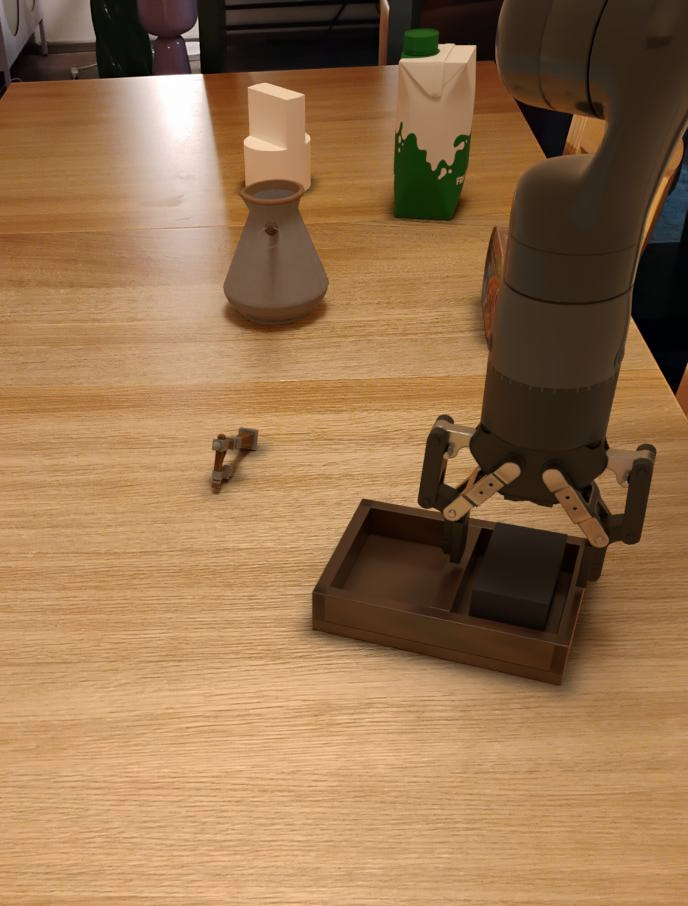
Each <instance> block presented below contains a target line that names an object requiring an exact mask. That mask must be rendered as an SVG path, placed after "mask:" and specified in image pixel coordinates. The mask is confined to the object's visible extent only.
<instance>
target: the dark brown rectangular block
mask: <svg viewBox="0 0 688 906" xmlns="http://www.w3.org/2000/svg"><path fill="white" fill-rule="evenodd" d="M495 522H496V525H495V528H494V530H493V533H492V536H491V539H490V541H489V544H488V547H487V549H486V552H485V555H484V558H483V560H482V563H481V566H480V569H479V571H478V574H477V577H476V580H475V582H474V585H473V588H472V594H471V601H470V609H469V616H471V617H476V618H481V619H486V620H490V621H495V622H500V623H505V624H509V625H514V626H519V627H524V628H528V629H533V630H538V631H543V632H544V631H545V627H546V624H547V620H548V616H549V613H550V609H551V606H552V602H553V598H554V595H555V591H556V587H557V584H558V580H559V576H560V571H561V566H562V562H563V557H564V552H565V547H566V542H567V537H568V535H569V534H567V533H563V532H558V531H551V530H546V529H540V528H534V527H529V526H522V525H519V524H518V525H516V524H512V523H506V522H500V521H495Z"/></svg>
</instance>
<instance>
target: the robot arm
mask: <svg viewBox="0 0 688 906" xmlns="http://www.w3.org/2000/svg"><path fill="white" fill-rule="evenodd" d="M497 21H498V22H497V27H496V28H497V29H496V33H495V45H494V47H495V49H494V51H495V63H496V68H497V73H498V76H499V79H500V81H501V83H502V86H503V88H504V89H505V91H506V92H507V93H508V94H509V95H510V96H511V97H512V98H514V99H515V100H516V101H518V102H521V103H523V104H525V105H527V106H532V107H536V108H540V109H544V110H545V109H546V110H550V111H554V112H555V111H556V112H561V113H566V114H571V115H576V116H581V117H585V118H586V117H587V118H591V119H596V120H602V121H605V127H604V132H603V137H602V140H601V142H600V144H599V145H598V148H597V150H596V151H595V152H594V153H593V152H591V153H575V154H565V155H558V156H553V157H549V158H545V159H543V160H540V161H538V162H536V163H534V164H532V165H531V166H530V167H528V168H527V169H526V170H525V171H523V173H522V174H521V176H520V177H519V179H518V181H517V183H516V186H515V188H514V192H513V197H512V201H511V208H510V214H509V222H508V228H509V230H508V237H507V245H506V253H505V261H504V269H503V276H502V282H501V287H500V291H499V294H498V298H497V301H496V305H495V309H494V314H493V321H492V329H491V332H490V333H489V337H488V338H487V351H488V355H487V363H486V372H485V379H484V387H483V396H482V404H481V413H480V421H479V423H478V424H477V425H476V426H475V427H470V426H466V425H461V424H456V423H455V420H454V418H453V417H452V416H451V415H449V414H440V415H438V416H437V418H436V419H435V421H434V423H433V425H432V427H431V428H430V431H429V433H428V435H427V437H426V442H425V449H424V455H423V462H422V469H421V474H420V481H419V488H418V495H417V500H416V501H417V504H418V506H419V507H420V508H421V509H425V510H431V509H434V510H435V511H437V512H441V513H442V514H443V516H444V528H443V538H442V550H443V553H444V554H448V555H450V559H449V562H450V563H456V564H460V562H461V559H462V557H463V554H464V552H465V548H466V542H467V534H468V526H469V517H470V518H471V510H473V509H474V508H475V507H476V508H478V507H480V506H481V505H482V504H484V503H485V502H486V501H487V500H489V499H490V498H491V497H493V496H494V495H495V494H497V493H498V494H499V495H501V496H502V497H503V500H504V501H510V502H530V503H533V504H535V505H538V506H540V507H546V508H550V509H553V507H554V505H559V504H560V505H561V508H562V509H563V510H564V512H565V514H566V515H567V517H568V518H569V519H570V521H571V522H572V524H573V525H577V526H578V527H579V528H580V530H581V531H582V533H583V535H584V536H585V538H586V542H585V546H584V550H583V555H582V559H581V564H580V569H579V573H578V578H577V582H576V587H581V588H585V589H587V586H588V583H589V582H591V583H597V582H598V581H599V579H601V576H602V573H603V572H602V571H603V568H604V564H605V559H606V554H607V551H608V547H609V546H610V545H612V544H614V543H620V542H622V543H623V544H626V545H629V546H633V545H636V544H638V543H639V542H640V541H641V539H642V533H643V528H644V523H645V519H646V513H647V508H648V503H649V498H650V497H649V496H650V491H651V486H652V481H653V475H654V469H655V464H656V458H657V453H658V452H657V451H658V450H657V448H656V446H655V445H653V444H652V443H647V442H646V443H641V444H639V445H638V446H637V447H636V449H635V450H629V449H619V448H611V447H610V445H609V443H608V440H607V432H608V427H609V422H610V418H611V413H612V409H613V404H614V399H615V395H616V390H617V385H618V381H619V377H620V371H621V367H622V362H623V360H624V357H625V354H626V343H627V339H628V334H629V329H630V323H631V317H632V306H633V305H632V303H633V291H634V284H635V280H636V275H637V271H638V266H639V261H640V258H641V257H640V256H641V251H642V249H643V248H642V247H643V243H644V238H645V232H646V227H647V222H648V218H649V216H650V215H649V214H650V212H651V208H652V206H653V204H654V202H655V198H656V196H657V194H658V191H659V189H660V187H661V184H662V182H663V180H664V178H665V175H666V173H667V170H668V169H669V166H670V164H671V162H672V160H673V157H674V156H675V153H676V151H677V149H678V147H679V144H680V143H681V141H682V139H683V136H684V134H685V132H686V131H687V129H688V0H503V3H502V6H501V8H500V12H499V16H498V20H497ZM464 448H468V450H469V453H470V454H471V456H472V457H473V459H474V460H475V462H476V464H477V466H476V467H475V468H474V469H473V471H472V472H471V473H470V474H469V475H468V476H467V477H466V478H465V479H463V480H462V481H461V482H459V484H458V485H456V486H455V487H453V486H451V485H449V484H446V483H445V479H446V473H447V467H448V461H449V460H450V459H454V458H456V457H457V456H458V454H459V452H460V450H462V449H464ZM606 470H610V471H612V472H613V473H614V474H615V480H616V482H617V484H618V485H619V486H620V487H621V488H622V489H627V494H626V499H625V505H624V512H622V513H613V514H612V512H611V510H610V509H609V507H608V505H607V504H606V503H605V501H604V499H603V497H602V496H601V491H600V488H599V485H598V484H597V482H596V481H595V480H596V479H597V478H599V477H600V476H601V475H602V474H604V473H605V471H606Z"/></svg>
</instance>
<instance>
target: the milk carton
mask: <svg viewBox="0 0 688 906" xmlns="http://www.w3.org/2000/svg"><path fill="white" fill-rule="evenodd" d="M439 39H440V31H439V30H437V29H433V28H414V29H409V30H407V31H405V32H404V33H403V47H402V49H403V50H402V52H401V54H400V55H401V56H400V58H399V61H398V71H397V88H396V89H397V91H396V108H395V110H396V111H395V130H394V131H395V132H394V150H393V153H394V154H393V155H394V156H393V199H394V201H393V203H394V218H402V219H421V220H422V219H423V220H425V219H426V220H443V221H451V220H452V218H453V215H454V213H455V211H456V210H457V209H456V208H457V206H458V204H459V201H460V199H461V194H462V192H463V188H464V184H465V180H466V176H467V173H468V168H469V163H470V162H469V161H470V153H471V152H470V150H471V140H472V132H473V131H472V129H473V121H474V108H475V99H476V78H477V76H476V75H477V72H476V71H477V45H474V44H472V45H471V44H468V45H464V44H463V45H461V44H459V45H456V44H455V43H444V44H443V43H439Z"/></svg>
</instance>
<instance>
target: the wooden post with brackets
mask: <svg viewBox="0 0 688 906" xmlns="http://www.w3.org/2000/svg"><path fill="white" fill-rule="evenodd" d="M258 439H259V429H256V428H250V427H243V426H239V427H238V433H237V435H235V436H234V435H231V436H227V434H226V435H225V434H224V433H219V434H217V437H216V438H213V439H212V442H211V443H212V444H211V451H215V454H214V463H213V470H211V471H212V472H211V488H214V489H220V488H221V483H222V480H223V479H224V480H230V478H233V476H234V467H235V466H234V465H228V464H224V461H225V458H226V456H227V452H228V451H229V450H231V451H236V450H238V449H248V450H254V451H255V450H257V448H258Z"/></svg>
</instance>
